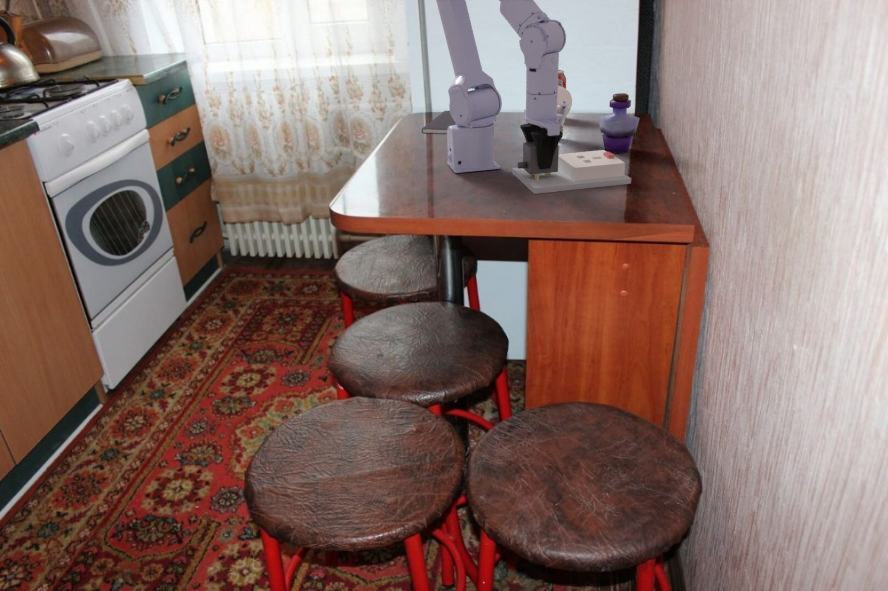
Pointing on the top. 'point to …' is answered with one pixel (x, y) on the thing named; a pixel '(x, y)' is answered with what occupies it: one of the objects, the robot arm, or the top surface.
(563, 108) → the light bulb
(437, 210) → the top surface
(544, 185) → the socket mat
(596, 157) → the socket plate
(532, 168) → the plug
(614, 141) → the potion bottle
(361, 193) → the top surface
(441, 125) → the notebook
